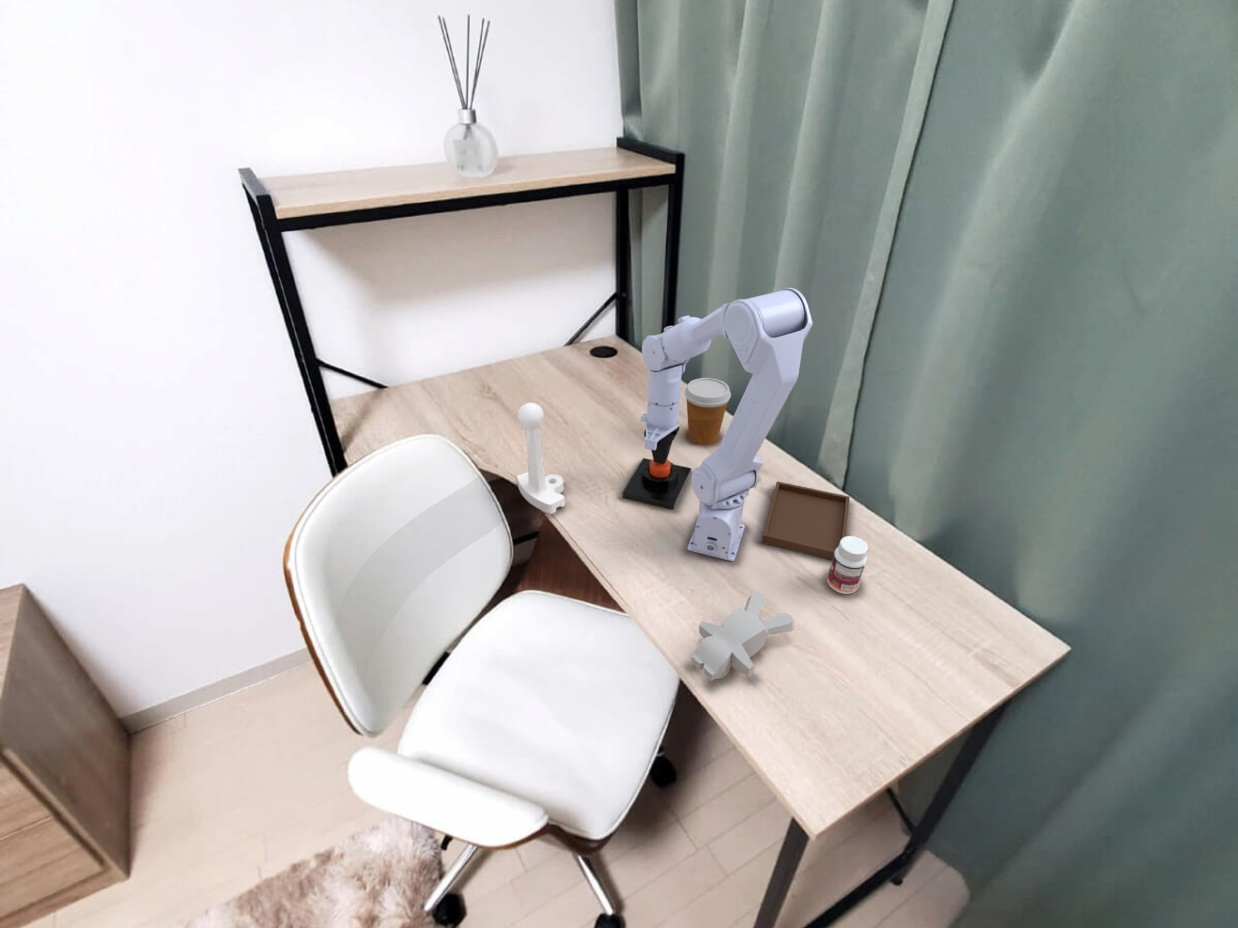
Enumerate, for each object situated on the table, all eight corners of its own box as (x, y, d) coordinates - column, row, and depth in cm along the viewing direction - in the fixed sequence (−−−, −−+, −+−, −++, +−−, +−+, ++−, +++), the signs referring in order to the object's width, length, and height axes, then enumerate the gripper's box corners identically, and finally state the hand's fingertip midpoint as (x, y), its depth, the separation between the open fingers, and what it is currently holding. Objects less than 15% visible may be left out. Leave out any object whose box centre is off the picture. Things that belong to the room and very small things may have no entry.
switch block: (673, 510, 110) (674, 497, 108) (622, 498, 113) (622, 485, 111) (690, 473, 119) (692, 461, 117) (643, 463, 122) (643, 451, 120)
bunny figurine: (676, 635, 82) (751, 576, 89) (677, 656, 85) (749, 598, 92) (728, 683, 76) (804, 616, 83) (727, 703, 79) (800, 637, 86)
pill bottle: (833, 568, 98) (845, 529, 93) (862, 582, 96) (875, 543, 91) (821, 585, 95) (832, 546, 90) (850, 599, 93) (863, 560, 88)
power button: (666, 479, 113) (667, 471, 112) (646, 475, 114) (646, 467, 113) (672, 468, 116) (673, 459, 115) (653, 463, 117) (653, 455, 116)
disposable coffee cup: (674, 441, 128) (677, 392, 121) (691, 421, 135) (695, 373, 128) (716, 453, 125) (722, 403, 118) (731, 432, 132) (738, 383, 125)
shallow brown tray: (841, 562, 99) (843, 554, 98) (761, 542, 103) (762, 535, 102) (847, 504, 112) (849, 496, 110) (775, 488, 115) (777, 481, 114)
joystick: (512, 488, 115) (501, 396, 104) (545, 473, 119) (537, 382, 107) (545, 517, 108) (537, 422, 97) (579, 500, 112) (575, 407, 101)
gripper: (654, 376, 113) (651, 437, 120) (628, 413, 101) (627, 478, 109) (691, 383, 111) (686, 444, 118) (668, 421, 99) (664, 486, 107)
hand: (660, 461), depth 114 cm, fingers closed
